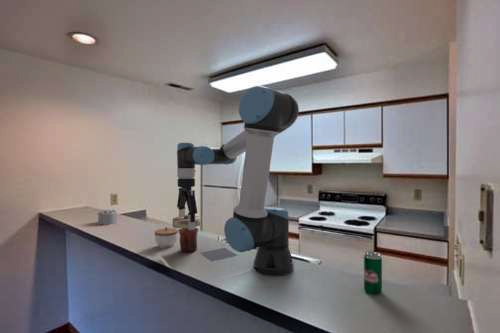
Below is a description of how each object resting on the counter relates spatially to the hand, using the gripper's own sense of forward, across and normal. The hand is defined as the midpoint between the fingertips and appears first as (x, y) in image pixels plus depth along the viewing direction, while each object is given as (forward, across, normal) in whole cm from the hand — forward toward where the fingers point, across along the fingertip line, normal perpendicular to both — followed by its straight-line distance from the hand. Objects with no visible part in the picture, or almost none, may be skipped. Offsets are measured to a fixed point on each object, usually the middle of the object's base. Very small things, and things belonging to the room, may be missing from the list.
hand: (186, 226), depth 119 cm
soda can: (+12, -66, -36) cm, 76 cm away
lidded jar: (+12, +15, +5) cm, 20 cm away
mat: (+12, -11, -10) cm, 19 cm away
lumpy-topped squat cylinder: (+13, +88, +24) cm, 92 cm away
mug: (+12, 0, 0) cm, 12 cm away
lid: (-1, 0, 0) cm, 1 cm away
